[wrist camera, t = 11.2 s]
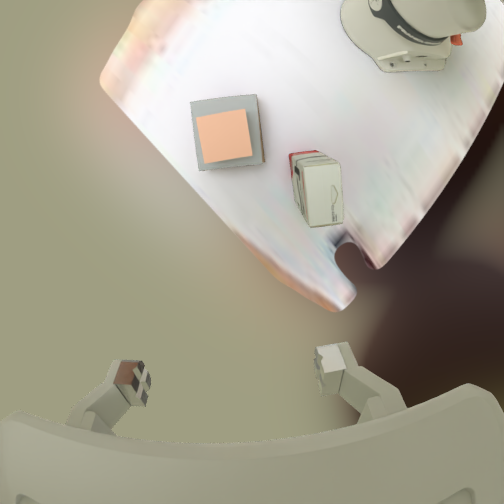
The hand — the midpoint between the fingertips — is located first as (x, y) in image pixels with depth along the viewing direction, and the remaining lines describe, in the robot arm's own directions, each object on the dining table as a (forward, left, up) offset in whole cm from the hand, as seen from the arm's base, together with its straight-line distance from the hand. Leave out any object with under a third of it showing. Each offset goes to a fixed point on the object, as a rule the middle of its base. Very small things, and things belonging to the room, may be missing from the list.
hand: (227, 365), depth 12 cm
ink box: (-11, 0, -36) cm, 38 cm away
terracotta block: (0, -9, -26) cm, 28 cm away
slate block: (0, -9, -31) cm, 33 cm away
